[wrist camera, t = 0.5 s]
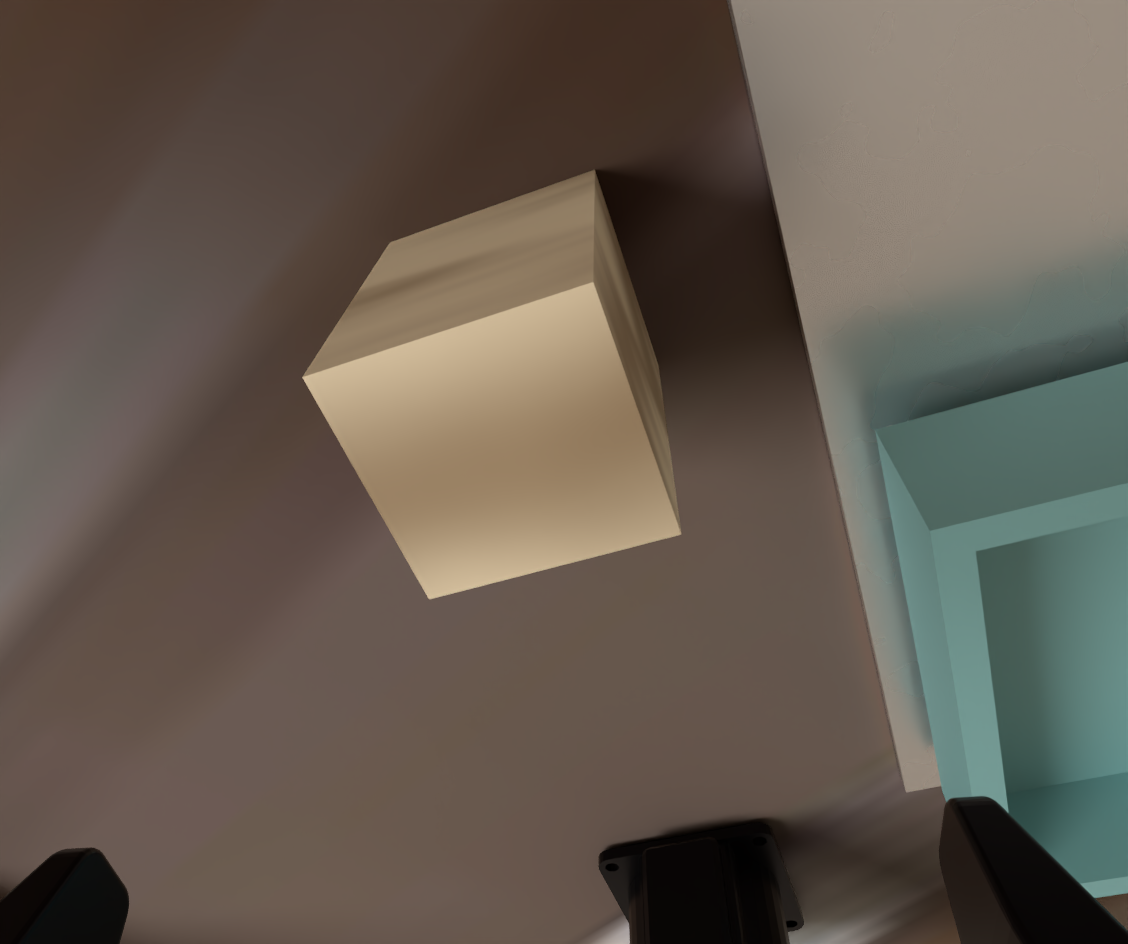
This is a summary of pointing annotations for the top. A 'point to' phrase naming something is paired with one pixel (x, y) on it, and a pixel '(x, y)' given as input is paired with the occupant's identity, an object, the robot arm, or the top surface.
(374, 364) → the part
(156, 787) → the top surface
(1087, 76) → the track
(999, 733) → the teal storage bin
